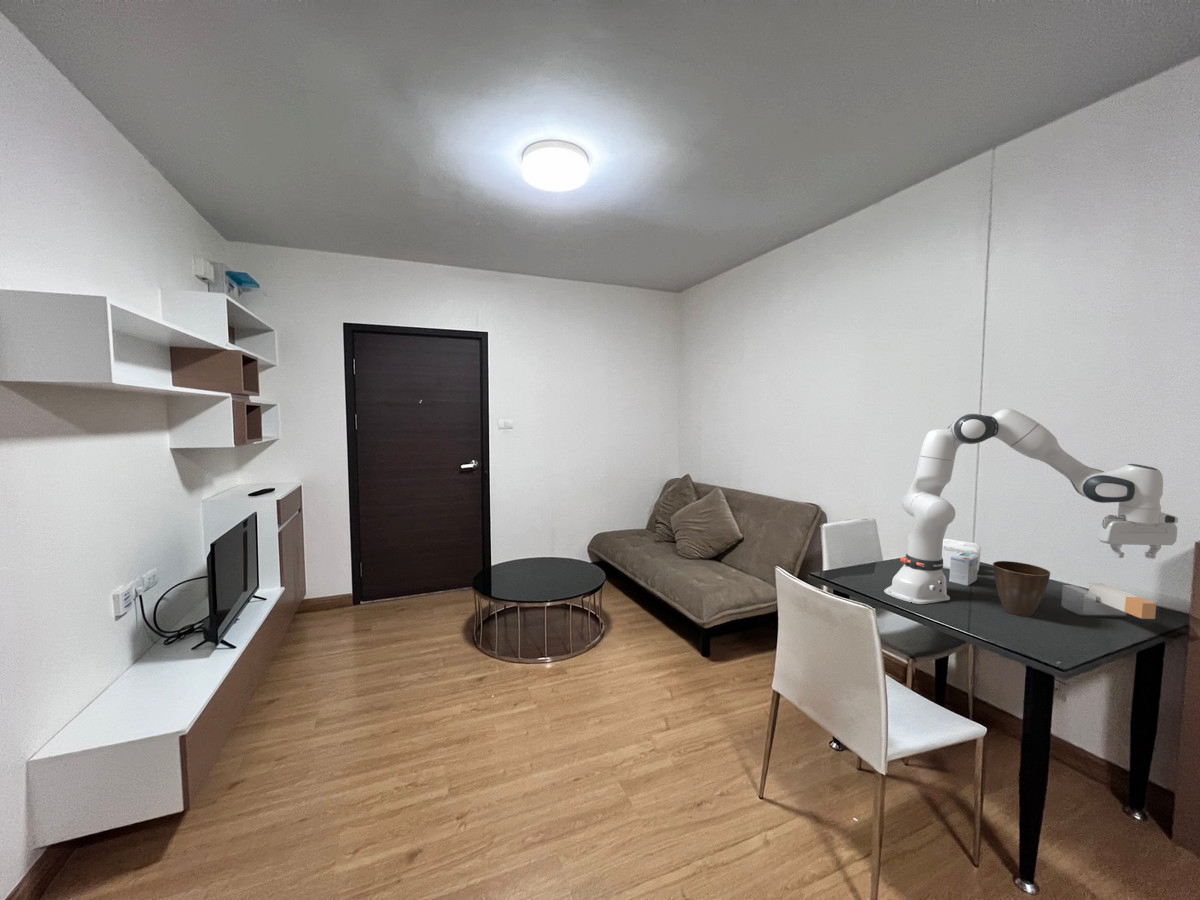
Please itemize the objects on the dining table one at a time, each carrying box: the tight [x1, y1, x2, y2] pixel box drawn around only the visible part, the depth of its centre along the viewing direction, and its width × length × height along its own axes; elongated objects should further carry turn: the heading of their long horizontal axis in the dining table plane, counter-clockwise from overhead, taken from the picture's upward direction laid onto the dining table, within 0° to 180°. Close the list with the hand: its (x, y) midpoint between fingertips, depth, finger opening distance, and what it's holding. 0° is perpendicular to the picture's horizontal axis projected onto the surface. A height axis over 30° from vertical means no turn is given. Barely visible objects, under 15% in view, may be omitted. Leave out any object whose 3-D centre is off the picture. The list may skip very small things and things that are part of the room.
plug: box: [1088, 582, 1157, 620], centre depth 155 cm, size 17×4×5 cm, turn 177°
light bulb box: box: [948, 552, 978, 586], centre depth 194 cm, size 11×7×11 cm, turn 126°
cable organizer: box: [942, 538, 982, 573], centre depth 208 cm, size 15×11×12 cm
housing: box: [1060, 584, 1127, 618], centre depth 164 cm, size 8×14×8 cm, turn 87°
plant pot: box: [992, 560, 1051, 617], centre depth 164 cm, size 15×15×16 cm
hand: (1134, 557), depth 150 cm, fingers open, 8 cm apart
